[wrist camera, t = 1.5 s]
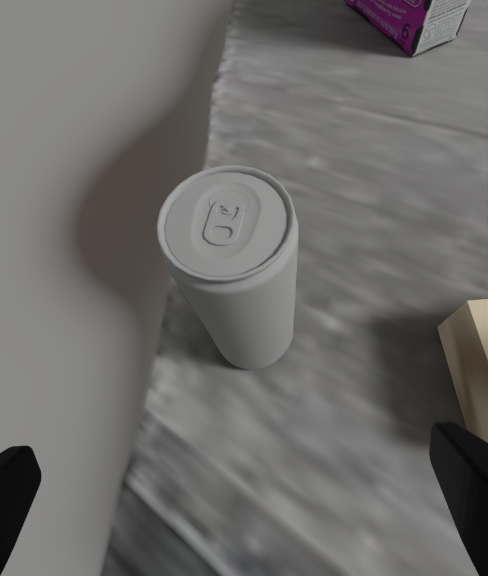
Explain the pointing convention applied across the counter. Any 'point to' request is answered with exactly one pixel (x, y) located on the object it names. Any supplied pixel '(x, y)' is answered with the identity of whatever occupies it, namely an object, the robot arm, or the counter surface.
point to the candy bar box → (415, 21)
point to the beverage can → (235, 259)
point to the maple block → (469, 361)
